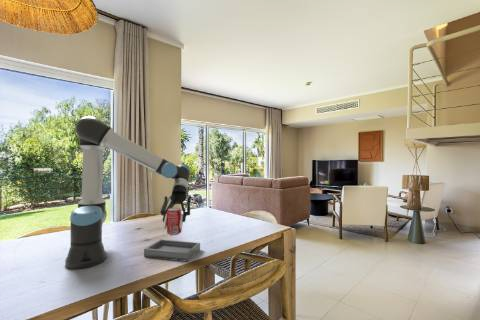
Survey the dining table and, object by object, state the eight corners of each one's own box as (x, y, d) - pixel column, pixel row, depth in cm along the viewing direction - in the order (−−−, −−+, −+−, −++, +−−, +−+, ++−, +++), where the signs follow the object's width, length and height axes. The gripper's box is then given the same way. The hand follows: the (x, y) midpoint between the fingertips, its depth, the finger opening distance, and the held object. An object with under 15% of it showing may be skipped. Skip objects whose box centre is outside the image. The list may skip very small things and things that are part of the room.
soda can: (175, 230, 121) (175, 206, 121) (184, 233, 116) (184, 208, 116) (163, 233, 116) (163, 209, 115) (172, 237, 111) (172, 211, 111)
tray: (144, 256, 111) (144, 248, 111) (160, 246, 125) (160, 239, 125) (187, 261, 106) (187, 253, 106) (200, 249, 120) (200, 242, 120)
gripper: (199, 192, 132) (194, 231, 115) (162, 192, 131) (153, 231, 115) (197, 184, 126) (192, 223, 110) (160, 184, 126) (149, 223, 109)
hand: (172, 227), depth 112 cm, fingers closed on soda can, 7 cm apart
